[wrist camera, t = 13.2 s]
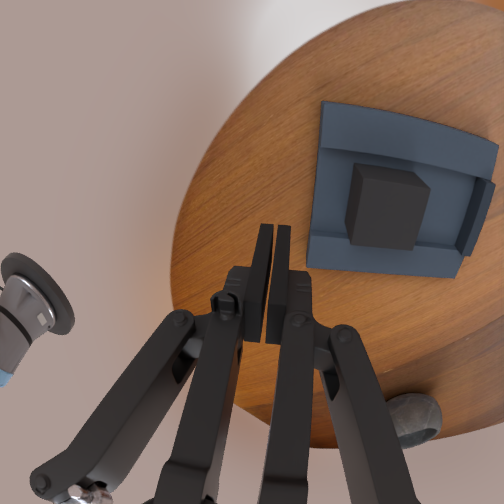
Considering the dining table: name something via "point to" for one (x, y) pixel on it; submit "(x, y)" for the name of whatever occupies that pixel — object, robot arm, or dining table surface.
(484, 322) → the dining table surface
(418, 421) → the bowl
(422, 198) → the black block
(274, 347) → the dining table surface
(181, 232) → the dining table surface
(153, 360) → the robot arm
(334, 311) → the dining table surface
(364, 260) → the dock pad
